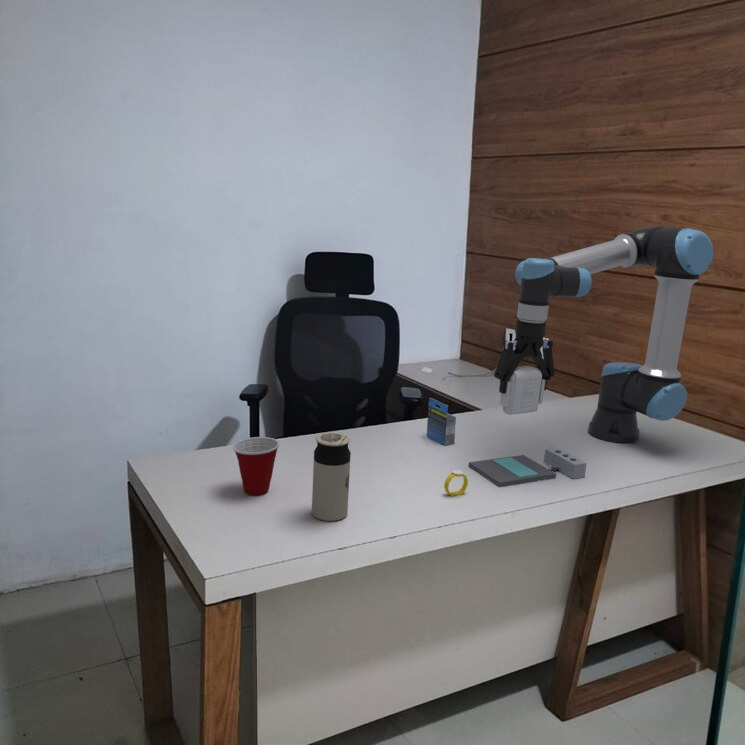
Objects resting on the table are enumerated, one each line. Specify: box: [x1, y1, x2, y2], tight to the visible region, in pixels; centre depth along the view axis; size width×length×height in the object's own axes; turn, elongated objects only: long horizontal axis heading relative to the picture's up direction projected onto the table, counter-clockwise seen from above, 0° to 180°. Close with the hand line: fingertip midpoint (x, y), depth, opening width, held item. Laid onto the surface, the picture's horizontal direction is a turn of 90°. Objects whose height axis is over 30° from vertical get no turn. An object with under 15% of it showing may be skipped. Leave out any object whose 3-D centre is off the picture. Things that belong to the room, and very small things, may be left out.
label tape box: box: [426, 397, 457, 446], centre depth 207 cm, size 9×4×12 cm, turn 34°
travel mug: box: [311, 431, 351, 522], centre depth 156 cm, size 8×8×18 cm
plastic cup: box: [232, 436, 280, 497], centre depth 166 cm, size 11×11×12 cm
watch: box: [443, 469, 469, 497], centre depth 172 cm, size 6×3×6 cm, turn 118°
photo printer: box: [502, 365, 542, 416], centre depth 185 cm, size 10×4×12 cm, turn 122°
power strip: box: [543, 447, 587, 479], centre depth 191 cm, size 9×12×4 cm
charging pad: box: [468, 454, 557, 488], centre depth 188 cm, size 18×14×1 cm
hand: (521, 403), depth 186 cm, fingers closed on photo printer, 10 cm apart
